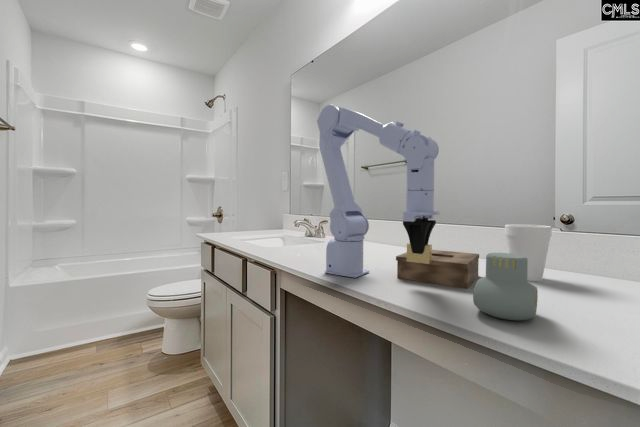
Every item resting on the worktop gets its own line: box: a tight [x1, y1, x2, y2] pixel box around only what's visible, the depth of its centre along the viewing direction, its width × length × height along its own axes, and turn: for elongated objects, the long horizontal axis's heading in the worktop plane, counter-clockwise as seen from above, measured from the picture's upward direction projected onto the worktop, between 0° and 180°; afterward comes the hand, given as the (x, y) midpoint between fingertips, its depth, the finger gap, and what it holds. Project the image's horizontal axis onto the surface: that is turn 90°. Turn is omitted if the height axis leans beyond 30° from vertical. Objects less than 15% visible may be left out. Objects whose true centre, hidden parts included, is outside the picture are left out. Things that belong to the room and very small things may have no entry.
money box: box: [395, 249, 480, 289], centre depth 76 cm, size 16×16×6 cm
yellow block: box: [406, 242, 433, 264], centre depth 67 cm, size 5×2×4 cm, turn 53°
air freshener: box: [472, 252, 538, 322], centre depth 50 cm, size 11×8×10 cm
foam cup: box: [504, 224, 552, 282], centre depth 75 cm, size 10×9×13 cm
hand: (419, 252), depth 67 cm, fingers closed on yellow block, 1 cm apart
